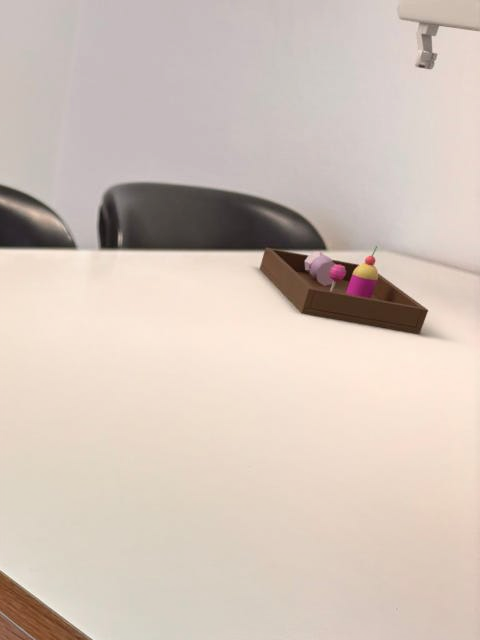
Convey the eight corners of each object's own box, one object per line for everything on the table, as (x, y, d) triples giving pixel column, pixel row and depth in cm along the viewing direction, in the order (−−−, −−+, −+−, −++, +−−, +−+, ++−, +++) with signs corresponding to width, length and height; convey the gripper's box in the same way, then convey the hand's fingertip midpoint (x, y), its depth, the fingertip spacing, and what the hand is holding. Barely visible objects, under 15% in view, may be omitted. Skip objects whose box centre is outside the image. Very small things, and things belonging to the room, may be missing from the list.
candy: (282, 269, 132) (298, 218, 129) (344, 280, 133) (361, 230, 130) (321, 306, 116) (339, 249, 113) (391, 319, 117) (411, 262, 114)
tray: (361, 287, 134) (369, 266, 133) (419, 334, 116) (428, 310, 115) (259, 268, 133) (265, 247, 132) (301, 312, 115) (309, 288, 114)
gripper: (409, -74, 125) (370, 59, 133) (567, -63, 112) (515, 84, 119) (440, -64, 129) (401, 64, 136) (598, -53, 115) (545, 89, 122)
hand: (455, 74), depth 127 cm, fingers open, 8 cm apart
